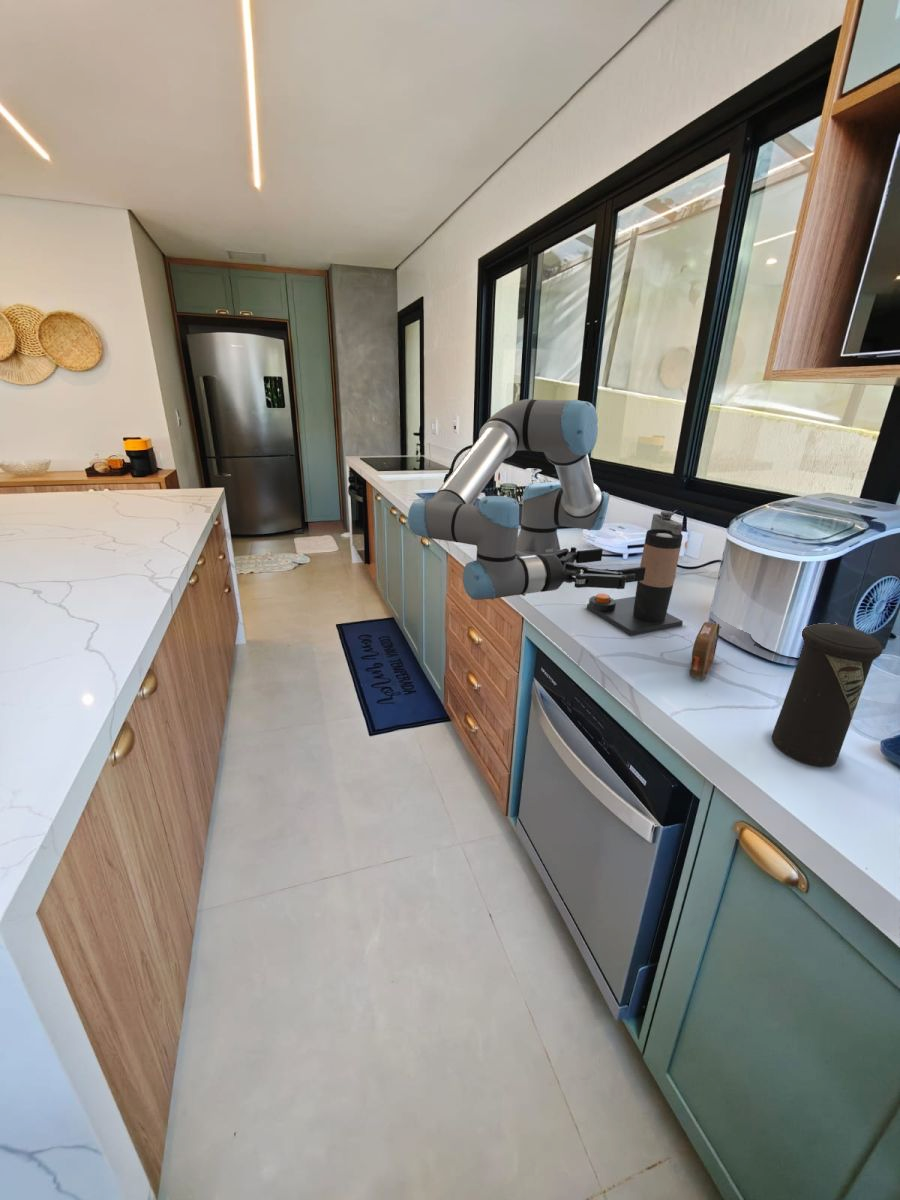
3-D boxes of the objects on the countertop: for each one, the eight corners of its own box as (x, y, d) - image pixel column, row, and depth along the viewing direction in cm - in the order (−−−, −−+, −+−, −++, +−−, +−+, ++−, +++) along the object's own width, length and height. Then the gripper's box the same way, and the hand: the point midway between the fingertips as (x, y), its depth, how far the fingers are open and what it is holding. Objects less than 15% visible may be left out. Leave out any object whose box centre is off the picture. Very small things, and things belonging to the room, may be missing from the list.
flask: (662, 577, 148) (674, 517, 141) (640, 562, 161) (650, 506, 154) (674, 577, 148) (686, 517, 141) (651, 562, 161) (661, 506, 154)
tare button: (592, 600, 124) (593, 594, 123) (603, 598, 125) (604, 592, 124) (601, 605, 121) (602, 599, 120) (612, 603, 122) (612, 597, 121)
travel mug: (631, 619, 116) (646, 535, 108) (631, 607, 123) (645, 527, 115) (667, 624, 114) (684, 539, 106) (665, 612, 121) (681, 530, 113)
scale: (583, 608, 125) (584, 597, 124) (632, 600, 131) (634, 589, 130) (628, 636, 111) (630, 624, 110) (681, 626, 117) (684, 614, 116)
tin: (701, 687, 92) (711, 646, 89) (683, 681, 94) (692, 641, 91) (715, 655, 104) (724, 618, 101) (699, 651, 106) (707, 614, 102)
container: (824, 777, 71) (873, 653, 63) (758, 743, 78) (794, 627, 70) (847, 754, 76) (895, 635, 68) (782, 724, 83) (820, 613, 75)
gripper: (506, 571, 114) (583, 562, 121) (571, 614, 92) (660, 600, 100) (508, 539, 111) (587, 532, 119) (577, 576, 90) (667, 564, 97)
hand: (621, 563), depth 109 cm, fingers open, 13 cm apart
